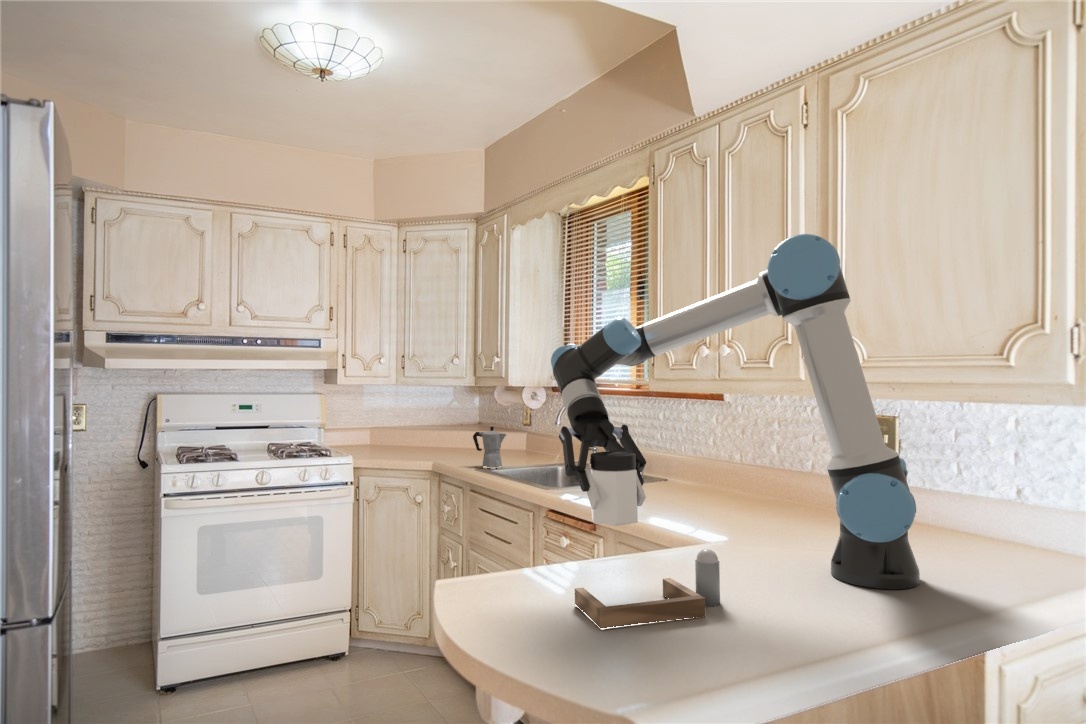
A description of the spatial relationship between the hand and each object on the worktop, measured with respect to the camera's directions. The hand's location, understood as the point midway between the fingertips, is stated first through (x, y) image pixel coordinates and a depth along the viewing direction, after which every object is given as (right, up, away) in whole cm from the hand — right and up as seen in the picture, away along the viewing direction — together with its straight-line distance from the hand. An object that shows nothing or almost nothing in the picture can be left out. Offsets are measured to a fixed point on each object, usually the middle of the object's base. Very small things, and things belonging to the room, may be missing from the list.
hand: (619, 503), depth 117 cm
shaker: (+15, -16, -3) cm, 22 cm away
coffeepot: (-36, -22, +174) cm, 179 cm away
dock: (+2, -16, -7) cm, 18 cm away
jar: (-1, -4, +3) cm, 5 cm away
